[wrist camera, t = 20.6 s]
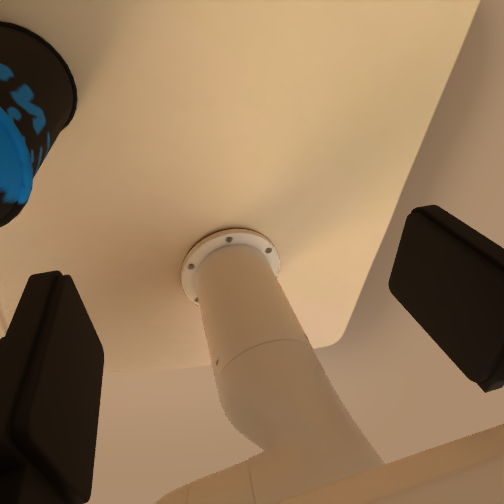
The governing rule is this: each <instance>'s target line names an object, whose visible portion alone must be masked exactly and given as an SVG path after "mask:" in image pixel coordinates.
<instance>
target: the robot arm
mask: <svg viewBox="0 0 504 504" xmlns="http://www.w3.org/2000/svg"><path fill="white" fill-rule="evenodd" d="M279 269H280V260H279V256H278V253H277V251H276V249H275V247H274V246H273V244H272V243H271V242H270V241H269V240H268V239H267V238H266V237H265V236H263V235H262V234H260V233H257V232H255V231H252V230H247V229H230V230H223V231H220V232H217V233H214V234H212V235H210V236H208V237H206V238H204V239H203V240H202V241H200V242H199V243H197V244H196V245H195V246H194V247H193V248H192V249H191V250H190V252H189V253H188V255H187V256H186V258H185V260H184V262H183V265H182V269H181V282H182V286H183V290H184V292H185V294H186V296H187V297H188V298H189V299H190V300H191V301H192V302H193V303H195V304H196V305H197V306H200V310H201V314H202V319H203V324H204V329H205V333H206V338H207V343H208V347H209V352H210V357H211V361H212V366H213V371H214V375H215V380H216V385H217V389H218V393H219V398H220V402H221V406H222V408H223V410H224V412H225V415H226V416H227V418H228V419H229V421H230V422H231V424H232V425H233V426H234V427H235V428H236V429H237V430H238V431H239V432H240V433H241V434H243V435H244V436H245V437H246V438H248V439H249V440H251V441H252V442H253V443H255V444H256V445H258V446H259V447H260V448H262V449H263V450H264V451H263V452H262V453H260V454H257V455H255V456H253V457H251V458H249V460H246V461H244V462H241V463H239V464H236V465H234V466H232V467H229V468H226V469H224V470H221V471H219V472H216V473H213V474H211V475H209V476H206V477H203V478H201V479H198V480H196V481H194V482H191V483H189V484H186V485H184V486H182V487H180V488H178V489H175V490H174V491H171V492H169V493H168V494H166V495H164V496H163V497H162V498H161V499H159V500H158V501H157V502H156V503H154V504H504V424H502V425H499V426H496V427H493V428H490V429H487V430H484V431H481V432H478V433H475V434H472V435H470V436H466V437H464V438H461V439H458V440H455V441H452V442H449V443H446V444H443V445H440V446H437V447H434V448H432V449H429V450H426V451H423V452H420V453H417V454H414V455H411V456H408V457H405V458H402V459H400V460H397V461H394V462H391V463H388V464H385V463H384V462H383V460H382V459H381V458H380V456H379V455H378V454H377V452H376V451H375V450H374V448H373V447H372V445H371V444H370V443H369V441H368V440H367V438H366V437H365V436H364V434H363V433H362V431H361V430H360V429H359V427H358V426H357V424H356V423H355V421H354V420H353V419H352V417H351V415H350V414H349V412H348V411H347V409H346V408H345V406H344V405H343V403H342V401H341V400H340V398H339V396H338V395H337V393H336V391H335V390H334V388H333V386H332V384H331V383H330V380H329V379H328V377H327V375H326V373H325V371H324V369H323V367H322V365H321V363H320V362H319V360H318V358H317V356H316V354H315V352H314V350H313V348H312V346H311V344H310V342H309V340H308V338H307V336H306V334H305V332H304V330H303V329H302V327H301V325H300V323H299V321H298V319H297V317H296V315H295V313H294V311H293V309H292V307H291V305H290V303H289V301H288V300H287V298H286V296H285V294H284V292H283V290H282V288H281V286H280V284H279V282H278V280H277V277H278V274H279ZM389 289H390V291H391V293H392V294H393V295H394V296H395V298H396V299H397V300H398V301H399V302H400V303H401V304H402V305H403V307H404V308H405V309H406V310H407V311H408V312H409V313H410V314H411V315H412V317H413V318H414V319H415V320H416V321H417V322H418V323H419V324H420V325H421V327H423V329H424V330H425V331H426V332H427V333H428V334H429V335H430V336H431V338H432V339H433V340H434V341H435V342H436V343H437V344H438V345H439V347H440V348H441V349H442V350H443V351H444V352H445V353H446V354H447V355H448V357H449V358H450V359H451V360H452V361H453V362H454V363H455V364H456V365H457V367H458V368H459V369H460V370H461V371H462V372H463V373H464V374H465V375H466V377H467V378H469V379H470V380H471V381H473V382H476V383H477V384H478V385H479V386H480V387H481V389H482V390H483V391H484V392H485V393H486V392H489V391H492V390H496V389H499V388H502V387H503V385H504V249H503V248H502V247H501V246H499V245H497V244H496V243H494V242H493V241H491V240H490V239H488V238H486V237H485V236H484V235H482V234H480V233H479V232H477V231H476V230H474V229H473V228H471V227H470V226H468V225H466V224H465V223H464V222H462V221H460V220H459V219H457V218H456V217H454V216H453V215H451V214H450V213H448V212H447V211H445V210H443V209H442V208H440V207H439V206H436V205H429V206H423V207H417V208H415V209H413V210H412V212H411V214H409V215H408V216H407V219H406V222H405V226H404V230H403V233H402V236H401V240H400V243H399V247H398V251H397V254H396V258H395V262H394V265H393V268H392V272H391V276H390V279H389ZM103 366H104V351H103V347H102V344H101V342H100V340H99V338H98V335H97V333H96V331H95V329H94V326H93V324H92V322H91V320H90V317H89V315H88V313H87V311H86V309H85V306H84V304H83V302H82V300H81V297H80V295H79V293H78V291H77V289H76V286H75V284H74V282H73V280H72V278H71V276H70V275H62V273H61V272H60V271H58V270H57V271H51V272H45V273H40V274H34V275H31V276H30V277H29V279H28V282H27V284H26V286H25V289H24V291H23V294H22V296H21V299H20V301H19V304H18V306H17V308H16V311H15V313H14V316H13V318H12V321H11V323H10V325H9V328H8V330H7V333H6V335H5V337H2V338H1V339H0V504H84V503H86V502H88V501H89V499H90V496H91V489H92V479H93V468H94V458H95V447H96V437H97V427H98V417H99V407H100V397H101V386H102V376H103Z"/></svg>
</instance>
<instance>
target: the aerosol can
mask: <svg viewBox="0 0 504 504" xmlns="http://www.w3.org/2000/svg"><path fill="white" fill-rule="evenodd" d="M76 106H77V89H76V85H75V82H74V78H73V76H72V74H71V71H70V69H69V67H68V65H67V64H66V63H65V61H64V60H63V58H62V57H61V55H60V54H59V53H58V52H57V51H56V50H55V49H54V48H53V47H52V46H51V45H50V44H49V43H48V42H46V41H45V40H44V39H43V38H41V37H40V36H38V35H37V34H35V33H33V32H31V31H30V30H28V29H26V28H23V27H20V26H18V25H15V24H12V23H6V22H1V21H0V227H2V226H4V225H6V224H7V223H9V222H10V221H11V220H12V219H13V218H15V217H16V216H17V215H18V214H19V213H20V212H21V210H22V209H23V207H24V206H25V205H26V203H27V202H28V199H29V196H30V193H31V190H32V184H33V178H34V176H35V175H36V173H37V171H38V169H39V168H40V166H41V164H42V162H43V161H44V159H45V157H46V156H47V154H48V152H49V150H50V149H51V147H52V145H53V143H54V142H55V140H56V138H57V137H58V135H59V133H60V131H62V130H63V129H64V128H65V127H66V126H67V125H68V124H69V123H70V121H71V120H72V118H73V116H74V113H75V111H76Z"/></svg>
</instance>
